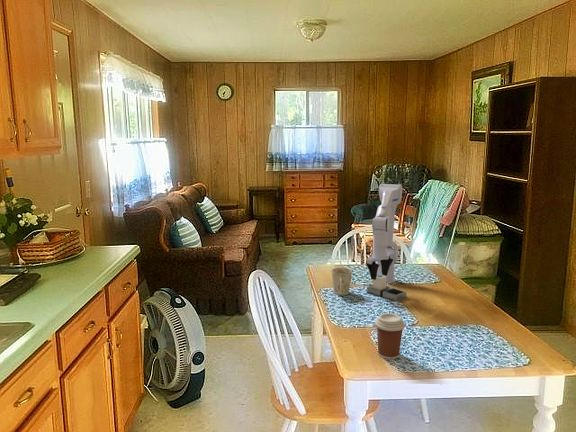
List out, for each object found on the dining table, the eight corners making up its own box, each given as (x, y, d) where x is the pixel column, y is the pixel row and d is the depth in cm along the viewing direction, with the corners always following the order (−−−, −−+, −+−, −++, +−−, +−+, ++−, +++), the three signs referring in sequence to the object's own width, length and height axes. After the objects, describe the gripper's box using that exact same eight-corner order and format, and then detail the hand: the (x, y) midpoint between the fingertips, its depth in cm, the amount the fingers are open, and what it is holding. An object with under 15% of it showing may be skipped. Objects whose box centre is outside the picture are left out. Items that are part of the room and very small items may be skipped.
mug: (351, 290, 207) (351, 268, 205) (352, 300, 195) (352, 277, 193) (331, 289, 208) (331, 267, 206) (331, 300, 195) (331, 276, 194)
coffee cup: (399, 347, 154) (401, 311, 151) (407, 361, 145) (409, 323, 142) (370, 347, 153) (372, 311, 151) (376, 361, 144) (378, 323, 142)
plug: (372, 292, 203) (372, 274, 202) (378, 290, 206) (378, 272, 204) (380, 294, 200) (380, 276, 199) (385, 292, 203) (386, 274, 201)
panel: (365, 293, 203) (365, 287, 202) (377, 289, 209) (377, 282, 208) (395, 303, 192) (395, 296, 191) (407, 298, 198) (408, 291, 197)
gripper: (377, 250, 192) (376, 283, 194) (398, 244, 201) (397, 275, 204) (363, 247, 197) (362, 279, 199) (384, 241, 206) (383, 271, 209)
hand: (379, 277), depth 202 cm, fingers open, 7 cm apart
